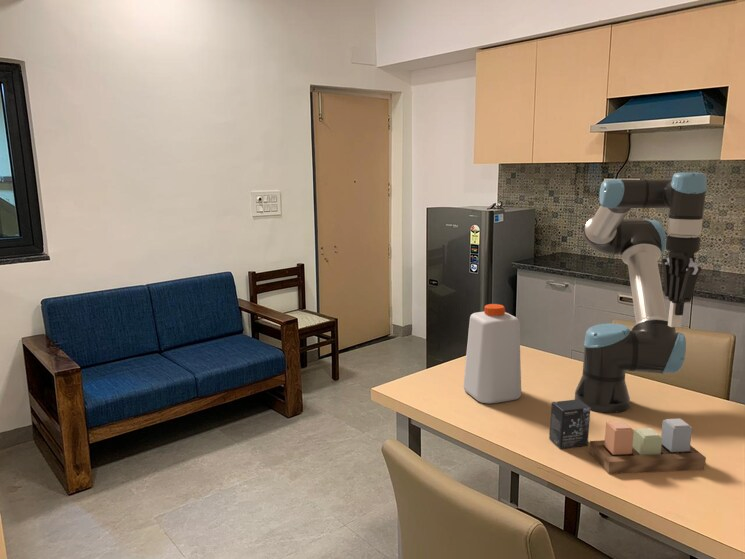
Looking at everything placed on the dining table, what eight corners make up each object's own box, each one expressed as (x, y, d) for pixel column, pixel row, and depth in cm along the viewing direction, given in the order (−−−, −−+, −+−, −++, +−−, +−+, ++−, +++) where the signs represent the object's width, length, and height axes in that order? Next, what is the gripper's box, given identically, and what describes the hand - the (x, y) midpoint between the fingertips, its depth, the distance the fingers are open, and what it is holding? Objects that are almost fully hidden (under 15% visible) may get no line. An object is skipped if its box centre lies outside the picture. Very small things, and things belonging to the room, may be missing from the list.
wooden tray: (608, 473, 132) (609, 461, 131) (589, 452, 142) (590, 440, 141) (704, 469, 133) (705, 457, 133) (679, 448, 143) (680, 437, 143)
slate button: (671, 452, 135) (673, 426, 134) (660, 442, 139) (663, 418, 138) (689, 451, 135) (692, 426, 134) (678, 442, 140) (681, 417, 138)
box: (560, 450, 143) (562, 410, 141) (548, 439, 148) (550, 401, 146) (588, 446, 145) (591, 407, 142) (575, 435, 150) (578, 398, 148)
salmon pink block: (613, 454, 134) (615, 429, 133) (604, 445, 138) (606, 420, 137) (631, 453, 134) (634, 428, 133) (622, 444, 139) (624, 419, 137)
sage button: (641, 461, 135) (643, 436, 134) (631, 452, 139) (633, 427, 138) (659, 460, 135) (662, 435, 134) (649, 451, 140) (651, 427, 138)
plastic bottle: (500, 381, 187) (503, 298, 181) (526, 399, 173) (531, 309, 167) (458, 388, 182) (460, 302, 176) (482, 407, 168) (484, 314, 162)
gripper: (715, 238, 137) (704, 333, 142) (682, 231, 150) (673, 318, 155) (685, 239, 136) (675, 334, 141) (654, 232, 149) (646, 319, 154)
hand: (674, 326), depth 148 cm, fingers closed
